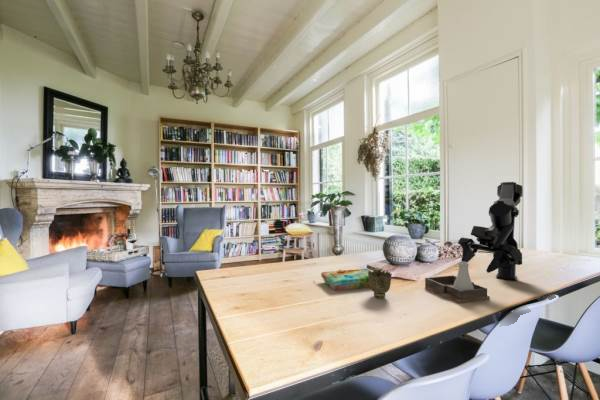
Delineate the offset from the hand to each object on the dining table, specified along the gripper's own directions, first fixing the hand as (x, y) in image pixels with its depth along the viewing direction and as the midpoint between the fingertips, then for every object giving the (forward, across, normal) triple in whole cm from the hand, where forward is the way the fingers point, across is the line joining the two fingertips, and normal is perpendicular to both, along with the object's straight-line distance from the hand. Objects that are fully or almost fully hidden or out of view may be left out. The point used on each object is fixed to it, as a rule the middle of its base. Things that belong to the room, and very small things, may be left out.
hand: (474, 268), depth 95 cm
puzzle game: (+30, -23, -17) cm, 41 cm away
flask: (+9, 0, +2) cm, 9 cm away
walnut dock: (+10, -3, +3) cm, 10 cm away
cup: (+28, -9, -16) cm, 33 cm away
